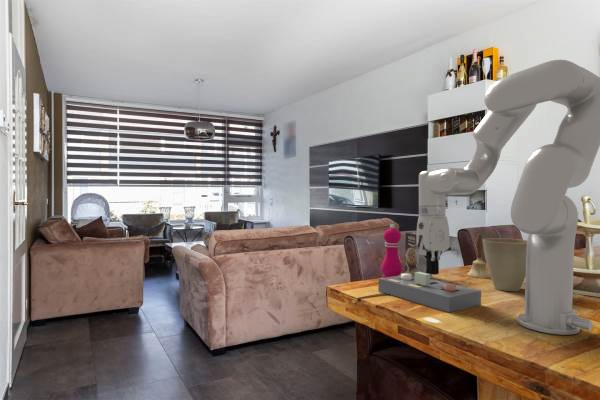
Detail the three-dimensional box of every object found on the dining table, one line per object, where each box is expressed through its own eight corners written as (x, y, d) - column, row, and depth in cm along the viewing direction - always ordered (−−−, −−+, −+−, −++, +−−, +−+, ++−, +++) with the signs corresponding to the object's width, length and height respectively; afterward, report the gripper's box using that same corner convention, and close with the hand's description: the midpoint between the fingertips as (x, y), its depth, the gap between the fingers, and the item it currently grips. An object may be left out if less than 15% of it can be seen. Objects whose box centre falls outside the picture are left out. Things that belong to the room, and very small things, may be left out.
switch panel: (480, 304, 112) (481, 289, 112) (448, 312, 105) (449, 296, 104) (409, 286, 134) (409, 273, 134) (378, 291, 126) (378, 277, 126)
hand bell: (495, 278, 148) (496, 235, 147) (472, 278, 148) (473, 235, 147) (484, 273, 156) (485, 232, 156) (463, 273, 156) (464, 232, 156)
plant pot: (530, 286, 135) (531, 239, 135) (535, 296, 122) (536, 244, 121) (481, 281, 141) (482, 236, 141) (481, 291, 128) (482, 241, 128)
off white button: (413, 281, 125) (413, 274, 125) (406, 282, 124) (406, 275, 124) (405, 279, 128) (405, 273, 128) (398, 280, 126) (398, 274, 126)
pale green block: (429, 295, 117) (430, 274, 117) (425, 296, 116) (425, 274, 116) (418, 292, 120) (419, 271, 120) (414, 293, 119) (414, 272, 119)
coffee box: (404, 274, 153) (404, 232, 153) (418, 273, 155) (419, 231, 155) (417, 279, 144) (418, 234, 144) (433, 278, 146) (433, 234, 146)
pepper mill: (402, 283, 138) (403, 225, 137) (381, 282, 139) (381, 224, 139) (401, 278, 145) (402, 223, 144) (381, 277, 146) (381, 223, 146)
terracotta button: (458, 292, 112) (458, 285, 112) (451, 294, 110) (451, 286, 110) (448, 290, 115) (448, 282, 115) (441, 291, 113) (441, 284, 113)
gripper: (425, 212, 112) (426, 278, 112) (458, 211, 120) (459, 273, 120) (404, 212, 118) (405, 274, 118) (437, 211, 127) (438, 269, 127)
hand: (432, 273), depth 119 cm, fingers closed
